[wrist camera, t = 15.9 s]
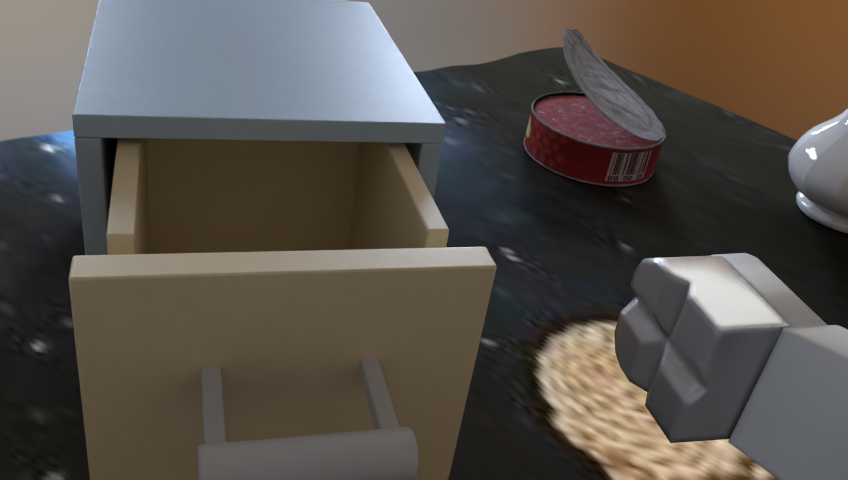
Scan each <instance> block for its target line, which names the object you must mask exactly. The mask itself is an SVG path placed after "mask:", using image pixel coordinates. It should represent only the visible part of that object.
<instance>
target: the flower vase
mask: <svg viewBox="0 0 848 480" xmlns="http://www.w3.org/2000/svg"><path fill="white" fill-rule="evenodd" d="M788 166H789V173H790V176H791V179H792V181H793V183H794V184H795V186H796V187H797V189H798V190H799V192H798V194H797V195H796V201H797V205H798V206H799V208H800V209H801V211H802V212H804V213H805V214H806V215H807V216H808V217H810V218H811V219H813V220H814V221H816V222H818V223H820V224H822V225H824V226H826V227H829V228H831V229H834V230H837V231H840V232H844V233H847V234H848V108H847V109H846V110H845V111H844V112H843V113H842V114H840V115H839V116H837V117H835V118H833V119H831V120H829V121H826V122H824V123H822V124H819V125H817V126H815V127H814V128H812V129H810V130H809V131H807V132H806V133H805V134H803V135H802V136H801V137H800V139H799V140H798V141H797V142H796V144H795V145H794V146H793V148H792V149H791V151H790V153H789V155H788Z"/></svg>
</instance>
